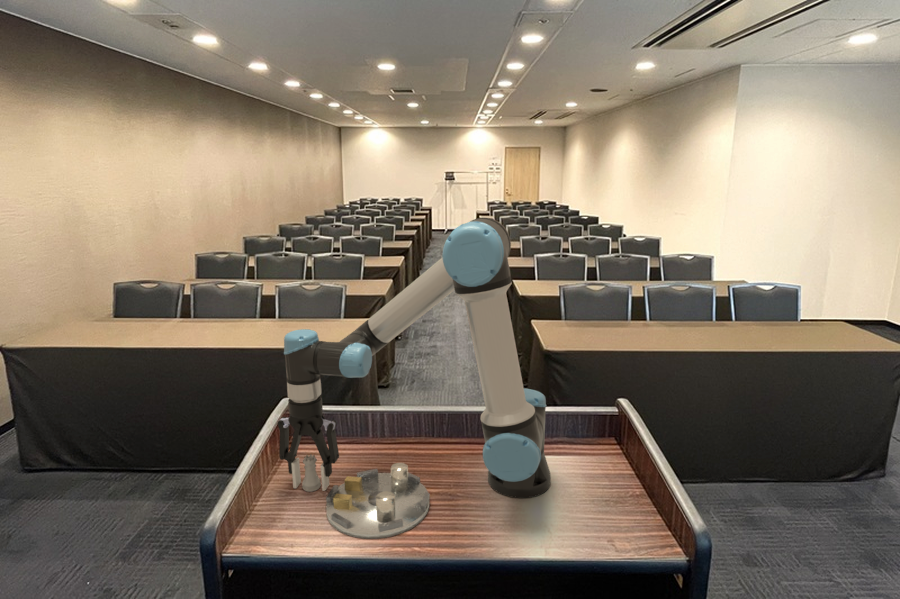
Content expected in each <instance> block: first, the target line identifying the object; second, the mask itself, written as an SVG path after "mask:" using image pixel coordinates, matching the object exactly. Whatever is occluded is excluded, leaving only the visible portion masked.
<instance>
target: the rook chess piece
mask: <svg viewBox="0 0 900 599" xmlns="http://www.w3.org/2000/svg"><path fill="white" fill-rule="evenodd" d="M317 461H318V459H317V458H316V456H315V454H313V455H312V454H309V455H308V454H307V455H305V456H304V457H303V460H302V463H303V464H304V466H303V468H304V470H305V473H304V477H303V480H302V481H301V485H302V486H301V488H302V489H303V490H304V491H305V492H308V493H311V492H312V493H313V492H315V491H317V490H319V489H320V488H321V487H322V480H321V478H320V477H319V475H318V474H317V470H316V467H317V464H316V463H317Z"/></svg>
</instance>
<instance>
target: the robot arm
mask: <svg viewBox="0 0 900 599" xmlns="http://www.w3.org/2000/svg"><path fill="white" fill-rule="evenodd" d="M511 247H512V243H511V236H510V234H509V232H508V230H507V228H506V227H505V226H504V225H503V224H502V223H501V222H499V221H497V220H496V219H493V218H489V217H478V218H474V219H472V220H469V221H468V222H465V223H461V224H460V225H458V226H457V227H455V228H454V229H453V230H452V231H451V233H450V234H449V235H448V236H447V238H446V240H445V243H444V244H443V248H442V257H440V258H439V259H438V260H437V261H436V262H435V263H434V264H433V265H431V266H430V267H429V268H428V269H427V270H425V271H424V272H423V273H422V274H420V275H419V276H418V277H417V278H416V279H415V280H413V281H412V282H411V283H410V284H408V285H407V286H406V287H405V288H403V290H401V291H400V292H399V293H398V294H396V295H395V296H394V297H393V298H392V299H391V300H389V301H388V302H387V303H386V304H384V305H383V306H382V307H381V308H380V309H379V310H377V311H376V312H375V313H373V315H371V316H370V317H369V318H368V319H367V320H366V321H364V322H363V323H362V324H361V325H360V326H358V327H357V328H356V329H354V330H353V331H352V332H351V333H349V334H348V335H346V336H345V337H344V338H343V339H341V340H340V341H323V340H320V339H319V335H318V332H317V331H315V330H314V329H313V330H312V329H303V328H302V329H296V330H291V331H289V332H288V333H286V334H285V336H284V338H283V355H284V361H285V362H284V364H285V373H286V390H287V398H288V401H287V404H288V413H289V417H286V416H282V418H280V419H279V420H278V421H277V426H278V429H279V452H278V454H279V455H278V456H279V459H280V460H285V461H287V465H288V466H287V468H288V473H289V474H290V475H291V477H292V487H293V489H298V487H299V485H300V484H302V479H301V466H300V465H301V464H300V457H297V456H298V451H299V446H300V444H301V440H302V437H303V436H310V437H311V438H310V439H312V441H313V442H314V444H315V446H316V449H317V451H318V454H319V456H320V458H321V461H322V463H321V464H320V476H321V478H320V480H321V490H322V492H323V491H326V490H327V489H328V487H329V486H330V477H331V475H332V473H333V465H332V464H335V463H336V462H337V461H338V459H339V458H340V452H339V446H338V440H337V433H336V426H337V420H335V419H332V420H328V419H326V418H325V416H324V413H323V396H322V383H321V382H322V381H321V376H331V377H332V376H333V377H344V378H348V379H353V378H365V377H366V376H367V375H368V374H369V373H370V369H371V368H372V363H373V356H375V354H377V353H379V351H380V350H382V349H383V348H384V347H385V346H387V345H388V344H389V343H390V342H391V341H392V340H394V339H395V338H396V337H397V336H399V335H400V334H401V333H402V332H404V331H405V330H406V329H408V328H409V327H410V326H411V325H412V324H414V323H415V322H417V321H418V320H419V319H420V318H421V317H422V316H424V315H425V314H427V313H428V312H429V311H430V310H431V309H433V307H435V306H437V305H438V304H439V303H440V302H442V301H443V300H444V299H445V298H446V297H448V296H449V295H450V294H451V293H453V292H455V295H456V296H458V298H459V297H460V298H461V299H462V300H463V301H464V305H465V308H466V309H465V310H466V315H467V320H468V327H469V330H470V335H471V340H472V346H473V350H474V356H475V360H476V365H477V370H478V375H479V376H478V377H479V381H480V386H481V390H482V397H483V400H484V406H485V409H484V410H483V412H482V413H481V414H480V422H481V428H482V432H483V433H482V434H483V437H484V438H483V439H484V444H483V448H482V461H483V464H484V467H486V469H487V482H488V485H489V486H490V488H492V489H493V491H496V492H497V493H499V494H502V495H503V496H507V497H510V498H515V499H516V498H517V499H518V498H519V499H524V498H525V499H527V498H532V497H533V498H534V497H538V496H540V495H542V494H545V493H546V492H547V490H549V488H550V487H551V471H550V468H549V464H548V461H547V458H546V455H545V439H546V438H545V436H546V433H545V432H546V431H545V430H546V408H547V404H546V403H547V400H546V396H545V395H544V394H543V393H542V392H541V391H539V390H535V389H530V388H525V387H524V383H523V378H522V372H521V367H520V362H519V356H518V350H517V345H516V339H515V334H514V328H513V322H512V319H511V318H512V317H511V312H510V306H509V302H508V297H507V291H508V290H509V288H510V287H511V285H512V283H513V282H512V277H511V270H510V269H511V268H510V264H509V259H508V258H509V256H510V252H511V249H512V248H511ZM290 426H291V427H292V428H293V429H294V431H293V436H292V440H291V443H290ZM323 426H324V430H325V431H326V440H327V441H326V440H325V437H324V434H323V430H322V427H323ZM290 444H291V445H290Z"/></svg>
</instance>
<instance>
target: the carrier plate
mask: <svg viewBox="0 0 900 599" xmlns="http://www.w3.org/2000/svg"><path fill="white" fill-rule="evenodd" d="M325 500H326V503H325V510H326V518H327V521H328V522H329V524H330V525H331V527H333V528H334V529H335V530H337V531H338V532H340V533H342V534H344V535H346V536H349V537H352V538H357V539H363V540H365V539H367V540H368V539H369V540H373V539H375V540H376V539H377V540H378V539H386V538H390V537H394V536H397V535H401V534H403V533H405V532H407V531H409V530H411V529H413V528H415V527H416V526H418V525H419V524H420V523H421V522H423V520H424V519H425V518H426V516H427V514H428V512H429V509H430V492H429V491H428V489H427V488H426V486H425V485H424V484H423V483H422V482H421V477H419V476H417V475H415V474H413V473H411V472H409V465H408V464H406V463H404V462H397V463H392V464H391V466H390V472H379V470H378V468H372V469H369V470H364V471H358V472H356V476H349V475H348V476H346V477H345V479H344V482H343V483H342V484H340V485H337V484H334V485H333V486H332V488H330V491H329V492H328V494H327V495H326V497H325Z"/></svg>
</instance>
